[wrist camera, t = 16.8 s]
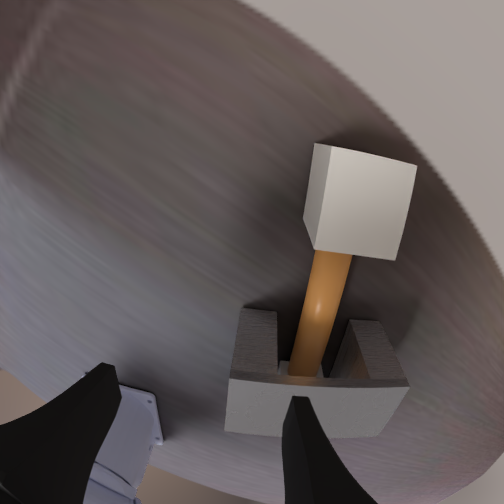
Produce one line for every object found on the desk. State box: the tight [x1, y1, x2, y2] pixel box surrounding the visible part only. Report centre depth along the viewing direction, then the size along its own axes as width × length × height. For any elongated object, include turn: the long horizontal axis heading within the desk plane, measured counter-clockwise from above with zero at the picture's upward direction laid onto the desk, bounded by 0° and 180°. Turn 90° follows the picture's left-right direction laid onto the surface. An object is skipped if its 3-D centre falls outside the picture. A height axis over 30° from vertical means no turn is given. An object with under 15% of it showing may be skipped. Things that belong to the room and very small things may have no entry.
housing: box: [224, 308, 410, 438], centre depth 18 cm, size 8×10×7 cm
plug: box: [277, 143, 417, 378], centre depth 17 cm, size 20×4×5 cm, turn 173°
